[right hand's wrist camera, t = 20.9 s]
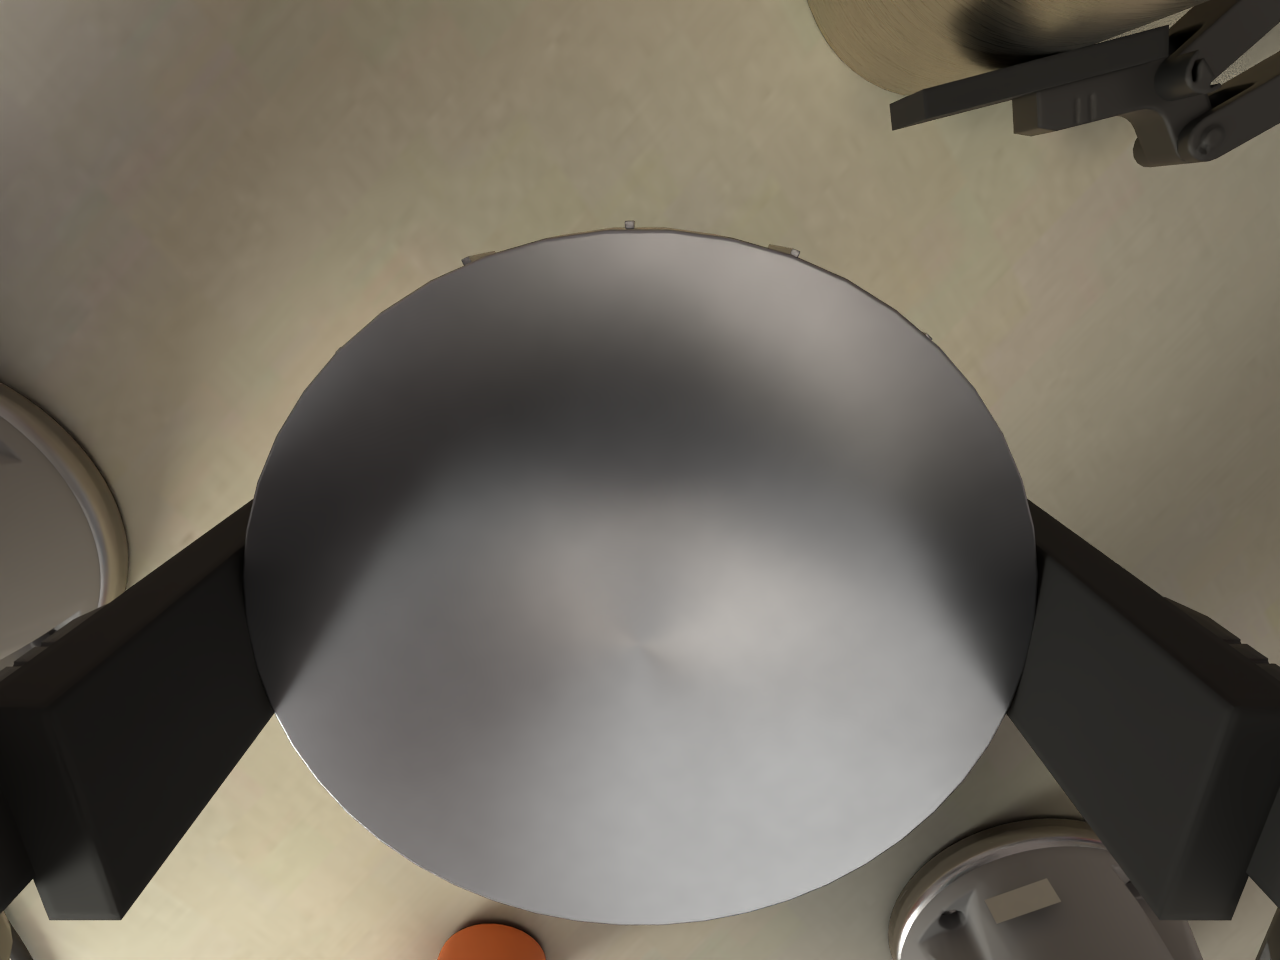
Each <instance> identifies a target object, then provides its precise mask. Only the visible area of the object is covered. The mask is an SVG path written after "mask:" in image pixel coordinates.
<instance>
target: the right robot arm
mask: <svg viewBox="0 0 1280 960" xmlns="http://www.w3.org/2000/svg"><path fill="white" fill-rule="evenodd" d="M1027 501H1028V505H1029V509H1030V513H1031V517H1032V522H1033V526H1034V534H1035V545H1036V557H1037V568H1038V583H1037V599H1036V614H1035V621H1034V625H1033V630H1032V634H1031V639H1030V644H1029V648H1028V653H1027V657H1026V662H1025V666H1024V670H1023V673H1022V675H1021V678H1020V681H1019V683H1018V686H1017V689H1016V691H1015V694H1014V697H1013V699H1012V702H1011V705H1010V707H1009V709H1008V711H1007V713H1006V714H1007V715H1008V716H1009V718H1010V719H1011V720H1012V722H1013V723H1014V724H1015V726H1016V727H1017V728H1018V730H1019V731H1020V732H1021V734H1022V735H1023V737H1024V738H1025V739H1026V741H1027V742H1028V743H1029V745H1030V746H1031V747H1032V749H1033V750H1034V751H1035V753H1036V754H1037V755H1038V757H1039V758H1040V759H1041V761H1042V762H1043V764H1044V765H1045V766H1046V768H1047V769H1048V770H1049V772H1050V773H1051V774H1052V776H1053V777H1054V778H1055V780H1056V781H1057V782H1058V784H1059V785H1060V786H1061V788H1062V789H1063V791H1064V792H1065V793H1066V795H1067V796H1068V797H1069V799H1070V800H1071V801H1072V803H1073V804H1074V805H1075V807H1076V808H1077V809H1078V811H1079V812H1080V813H1081V815H1082V816H1083V818H1084V819H1085V820H1086V822H1087V823H1088V824H1089V826H1090V827H1091V828H1092V830H1093V831H1094V832H1095V834H1096V835H1097V836H1098V838H1099V839H1100V840H1101V842H1102V843H1103V845H1104V846H1105V847H1106V849H1107V850H1108V851H1109V853H1110V854H1111V855H1112V857H1113V858H1114V859H1115V861H1116V862H1117V863H1118V865H1119V866H1120V867H1121V869H1122V870H1123V872H1124V873H1125V874H1126V876H1127V877H1128V878H1129V880H1130V881H1131V882H1132V884H1133V885H1134V886H1135V888H1136V889H1137V890H1138V892H1139V893H1140V894H1141V896H1142V897H1143V899H1144V900H1145V901H1146V903H1147V904H1148V905H1149V907H1150V908H1151V909H1152V911H1153V912H1154V913H1155V915H1156V916H1157V917H1158V919H1159V920H1231V919H1232V917H1233V914H1234V912H1235V909H1236V907H1237V904H1238V902H1239V899H1240V897H1241V894H1242V892H1243V889H1244V887H1245V884H1246V882H1247V879H1248V876H1250V878H1251V879H1252V880H1253V881H1254V882H1255V883H1256V884H1257V885H1258V886H1259V887H1260V888H1261V889H1262V891H1263V892H1264V893H1265V894H1266V895H1267V896H1268V897H1269V898H1270V899H1271V900H1272V901H1273V902H1274V903H1275V905H1276V906H1277V907H1278V908H1277V910H1276V913H1275V915H1274V917H1273V920H1272V922H1271V924H1270V927H1269V929H1268V931H1267V934H1266V936H1265V938H1264V941H1263V943H1262V945H1261V948H1260V950H1259V953H1258V955H1257V957H1256V960H1280V667H1279V666H1278V665H1276V664H1269V663H1268V658H1266V657H1265V656H1263V655H1262V654H1261V653H1259V652H1258V651H1256V650H1255V649H1253V648H1252V647H1251V646H1249V645H1248V644H1241V642H1240V639H1239V638H1238V637H1236V636H1235V635H1233V634H1232V633H1231V632H1229V631H1228V630H1226V629H1225V628H1223V627H1222V626H1221V625H1219V624H1218V623H1216V622H1215V621H1213V620H1212V619H1211V618H1209V617H1208V616H1205V615H1203V614H1201V613H1199V612H1197V611H1195V610H1192V609H1190V608H1188V607H1186V606H1184V605H1181V604H1179V603H1177V602H1175V601H1173V600H1170V599H1168V598H1166V597H1162V596H1161V595H1160V594H1158V593H1157V592H1156V591H1154V590H1153V589H1151V588H1150V587H1149V586H1147V585H1146V584H1144V583H1143V582H1142V581H1140V580H1139V579H1138V578H1136V577H1135V576H1133V575H1132V574H1131V573H1129V572H1128V571H1126V570H1125V569H1124V568H1122V567H1121V566H1120V565H1118V564H1117V563H1115V562H1114V561H1113V560H1111V559H1110V558H1108V557H1107V556H1106V555H1104V554H1103V553H1102V552H1100V551H1099V550H1097V549H1096V548H1095V547H1093V546H1092V545H1090V544H1089V543H1088V542H1086V541H1085V540H1084V539H1082V538H1081V537H1079V536H1078V535H1077V534H1075V533H1074V532H1072V531H1071V530H1070V529H1068V528H1067V527H1066V526H1064V525H1063V524H1061V523H1060V522H1059V521H1057V520H1056V519H1054V518H1053V517H1052V516H1050V515H1049V514H1048V513H1046V512H1045V511H1043V510H1042V509H1041V508H1039V507H1038V506H1036V505H1035V504H1034V503H1032V502H1031V501H1030V500H1028V499H1027ZM252 504H253V499H252V500H251V501H250V502H248V503H247V504H245V505H244V506H243V507H241V508H240V509H238V510H237V511H236V512H234V513H233V514H232V515H230V516H229V517H227V518H226V519H225V520H223V521H222V522H220V523H219V524H218V525H216V526H215V527H214V528H212V529H211V530H209V531H208V532H207V533H205V534H204V535H202V536H201V537H200V538H198V539H197V540H196V541H194V542H193V543H191V544H190V545H189V546H187V547H186V548H185V549H183V550H182V551H180V552H179V553H178V554H176V555H175V556H173V557H172V558H171V559H169V560H168V561H167V562H165V563H164V564H162V565H161V566H160V567H158V568H157V569H155V570H154V571H153V572H151V573H150V574H149V575H147V576H146V577H144V578H143V579H142V580H140V581H139V582H137V583H136V584H135V585H133V586H132V587H131V588H129V589H128V590H126V591H125V588H126V582H127V576H128V547H127V540H126V535H125V530H124V526H123V523H122V519H121V516H120V513H119V510H118V508H117V505H116V503H115V500H114V498H113V496H112V494H111V492H110V490H109V488H108V486H107V484H106V482H105V481H104V479H103V477H102V476H101V474H100V473H99V471H98V469H97V468H96V466H95V465H94V464H93V462H92V461H91V460H90V458H89V457H88V456H87V454H86V453H85V452H84V450H83V449H82V448H81V447H80V446H79V445H78V444H77V442H76V441H75V440H74V439H73V438H72V437H71V436H70V435H69V434H68V433H67V432H66V431H65V430H64V429H63V428H62V427H61V426H60V425H59V424H58V423H57V422H56V421H55V420H54V419H52V418H51V417H50V416H49V415H48V414H46V413H45V412H44V411H43V410H42V409H40V408H39V407H38V406H36V405H35V404H34V403H32V402H31V401H29V400H28V399H27V398H25V397H24V396H22V395H21V394H19V393H17V392H16V391H14V390H13V389H11V388H9V387H8V386H6V385H4V384H2V383H0V960H9V959H10V958H11V960H33V959H32V957H31V955H30V953H29V951H28V950H27V948H26V946H25V945H24V943H23V942H22V940H21V939H20V937H19V935H18V934H17V932H16V931H15V929H14V928H13V926H12V925H11V923H10V922H9V920H8V919H7V917H6V915H5V913H4V910H5V908H6V907H7V906H8V905H9V904H10V903H11V902H12V901H13V900H14V899H15V898H16V896H17V895H18V894H19V893H20V892H21V891H22V890H23V889H24V888H25V887H26V886H27V885H28V883H29V882H30V881H31V880H32V879H33V880H34V882H35V885H36V887H37V890H38V892H39V895H40V897H41V900H42V902H43V905H44V907H45V910H46V912H47V915H48V917H49V920H121V919H122V918H123V917H124V915H125V914H126V913H127V911H128V910H129V909H130V907H131V906H132V905H133V903H134V902H135V901H136V899H137V898H138V896H139V895H140V894H141V892H142V891H143V890H144V888H145V887H146V886H147V884H148V883H149V882H150V880H151V879H152V878H153V876H154V875H155V874H156V872H157V871H158V869H159V868H160V867H161V865H162V864H163V863H164V861H165V860H166V859H167V857H168V856H169V855H170V853H171V852H172V851H173V849H174V848H175V847H176V845H177V844H178V842H179V841H180V840H181V838H182V837H183V836H184V834H185V833H186V832H187V830H188V829H189V828H190V826H191V825H192V824H193V822H194V821H195V820H196V818H197V817H198V815H199V814H200V813H201V811H202V810H203V809H204V807H205V806H206V805H207V803H208V802H209V801H210V799H211V798H212V797H213V795H214V794H215V793H216V791H217V790H218V788H219V787H220V786H221V784H222V783H223V782H224V780H225V779H226V778H227V776H228V775H229V774H230V772H231V771H232V770H233V768H234V767H235V766H236V764H237V763H238V761H239V760H240V759H241V757H242V756H243V755H244V753H245V752H246V751H247V749H248V748H249V747H250V745H251V744H252V743H253V741H254V740H255V739H256V737H257V736H258V734H259V733H260V732H261V730H262V729H263V728H264V726H265V725H266V724H267V722H268V721H269V720H270V718H271V717H272V716H273V714H274V711H273V710H272V708H271V705H270V702H269V700H268V697H267V695H266V692H265V689H264V687H263V684H262V681H261V679H260V676H259V674H258V671H257V667H256V662H255V658H254V653H253V649H252V644H251V640H250V635H249V631H248V626H247V622H246V616H245V604H244V590H243V565H244V552H245V539H246V529H247V525H248V520H249V516H250V512H251V508H252ZM124 591H125V592H124Z"/></svg>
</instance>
